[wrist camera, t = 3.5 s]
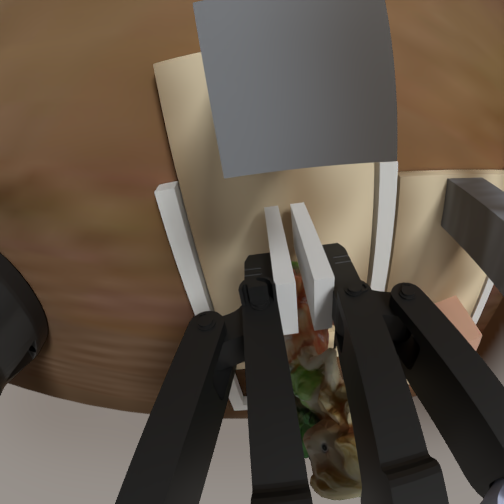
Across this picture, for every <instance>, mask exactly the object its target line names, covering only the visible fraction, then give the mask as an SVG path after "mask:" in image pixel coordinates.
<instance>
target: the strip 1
mask: <svg viewBox="0 0 504 504" xmlns="http://www.w3.org/2000/svg"><path fill="white" fill-rule="evenodd" d="M193 7H194V14H195V20H196V25H197V31H198V37H199V43H200V49H201V52H200V53H195V54H190V55H186V56H182V57H178V58H174V59H170V60H166V61H162V62H159V63H155V64H153V66H154V72H155V77H156V82H157V87H158V92H159V97H160V102H161V107H162V112H163V116H164V121H165V126H166V130H167V135H168V139H169V144H170V148H171V152H172V156H173V161H174V165H175V169H176V173H177V177H178V181H179V185H180V189H181V193H182V197H183V201H184V205H185V209H186V212H187V216H188V220H189V224H190V227H191V231H192V235H193V238H194V242H195V246H196V249H197V253H198V256H199V260H200V263H201V267H202V270H203V273H204V277H205V280H206V284H207V287H208V290H209V294H210V297H211V300H212V303H213V307H214V310H215V312H218V313H219V314H221V315H222V316H224V315H227V314H230V313H232V312H234V311H236V310H237V309H239V308H240V306H241V305H242V304H241V299H240V295H239V291H238V289H239V285H240V284H241V283H242V281H243V280H244V277H245V276H244V271H245V270H244V262H245V260H246V259H247V257H248V256H249V255H254V254H261V253H269V252H270V248H269V241H268V233H267V226H266V218H265V211H264V207H270V206H278V208H279V212H280V216H281V220H282V225H283V229H284V233H285V237H286V242H287V246H288V251H289V255H290V259H291V261H297V257H296V253H295V249H294V243H293V231H292V219H291V208H290V204H294V203H302V202H304V204H305V206H306V208H307V211H308V213H309V215H310V218H311V220H312V222H313V225H314V227H315V229H316V232H317V234H318V237H319V239H320V242H321V244H322V245H324V244H332V243H339V244H340V245H342V246H343V247H344V248H345V249H346V251H347V253H348V256H349V257H350V259H351V262H352V263H353V265H354V267H355V269H356V271H357V273H358V275H359V277H360V280H361V281H364V282H365V283H367V276H368V267H369V257H370V246H371V234H372V219H373V199H374V162H394V161H397V102H396V84H395V70H394V60H393V50H392V42H391V35H390V28H389V21H388V15H387V9H386V4H385V0H204V1H199V2H194V3H193ZM328 332H329V343H328V348H334V335H335V326H334V325H332V328H329V329H328ZM335 350H336V351H337V346H336V349H335ZM338 356H339V355H338V351H337V357H338ZM237 369H245V362H242V363H240V364H237V367H236V370H237Z"/></svg>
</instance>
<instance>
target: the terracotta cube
mask: <svg viewBox="0 0 504 504" xmlns="http://www.w3.org/2000/svg"><path fill="white" fill-rule="evenodd" d="M435 305H436V306H437V307H438V308H439V309H440V310H441V311H442V312H443V314H444V315H445V316H446V317H447V318H448V319H449V320H450V321H451V323H452V324H453V325H454V326H455V327H456V328H457V329H458V330H459V332H460V333H461V334H462V335H463V336H464V337H465V339H466V340H467V341H468V342H469V343H470V345H471V346H472V347H473V348H474V349H475V351H476V350H477V347H478V345H479V342H480V340H481V337H482V334H481V332H480V331H479V329H478V328H477V326H476V325H475V323H474V321H473V320H472V318H471V317H470V315H469V314H468V312H467V311H466V309H465V308H464V306H463V305H462V303H461V302H460V300H459V299H458V298H457V296H456V295H455V296H452V297H450V298H447V299H445V300H442V301H440V302H437V303H435Z"/></svg>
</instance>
